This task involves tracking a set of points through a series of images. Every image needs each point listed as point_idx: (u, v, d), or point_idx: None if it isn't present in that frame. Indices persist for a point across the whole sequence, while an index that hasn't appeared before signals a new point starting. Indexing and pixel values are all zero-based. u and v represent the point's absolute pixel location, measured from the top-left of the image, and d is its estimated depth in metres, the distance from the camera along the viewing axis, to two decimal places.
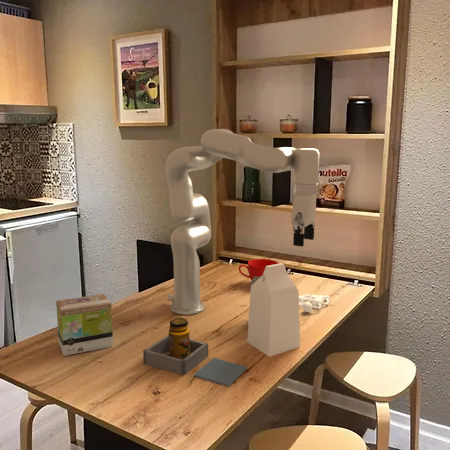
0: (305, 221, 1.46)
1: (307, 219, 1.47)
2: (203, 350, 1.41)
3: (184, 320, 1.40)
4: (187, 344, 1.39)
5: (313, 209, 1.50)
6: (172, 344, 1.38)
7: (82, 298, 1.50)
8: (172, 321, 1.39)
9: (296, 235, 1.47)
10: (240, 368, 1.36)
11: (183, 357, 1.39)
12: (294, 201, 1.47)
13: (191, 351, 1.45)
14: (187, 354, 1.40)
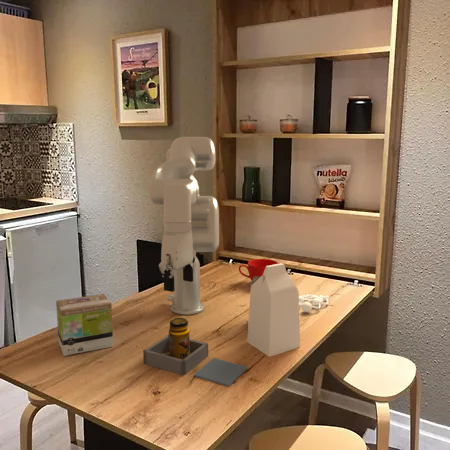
0: (174, 264, 1.31)
1: (177, 261, 1.31)
2: (203, 350, 1.41)
3: (184, 320, 1.40)
4: (187, 344, 1.39)
5: (187, 249, 1.35)
6: (172, 344, 1.38)
7: (82, 298, 1.50)
8: (172, 321, 1.39)
9: (165, 279, 1.32)
10: (240, 368, 1.36)
11: (183, 357, 1.39)
12: (163, 241, 1.31)
13: (191, 351, 1.45)
14: (187, 354, 1.40)
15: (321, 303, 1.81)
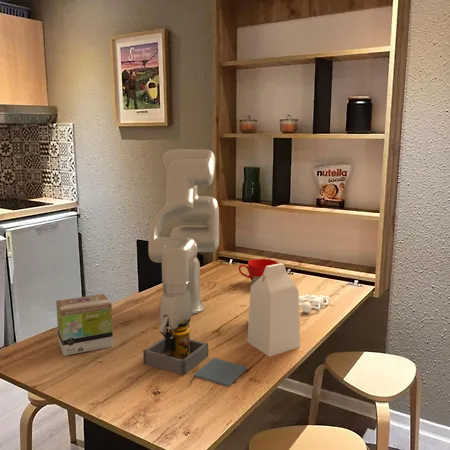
0: (172, 324, 1.34)
1: (175, 322, 1.35)
2: (203, 350, 1.41)
3: None
4: (187, 344, 1.39)
5: (185, 308, 1.38)
6: None
7: (82, 298, 1.50)
8: None
9: (167, 340, 1.37)
10: (240, 368, 1.36)
11: (183, 357, 1.39)
12: (161, 302, 1.35)
13: (191, 351, 1.45)
14: (187, 354, 1.40)
15: (321, 303, 1.81)
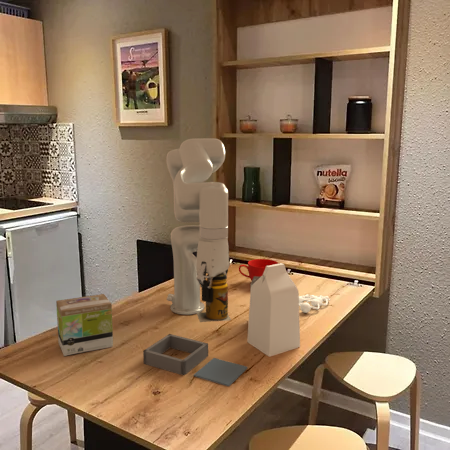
0: (211, 272, 1.24)
1: (213, 269, 1.25)
2: (203, 350, 1.41)
3: (222, 274, 1.30)
4: (226, 299, 1.29)
5: (223, 256, 1.28)
6: None
7: (82, 298, 1.50)
8: None
9: (204, 289, 1.27)
10: (240, 368, 1.36)
11: (221, 314, 1.28)
12: (198, 248, 1.25)
13: (191, 351, 1.45)
14: (225, 311, 1.29)
15: (320, 304, 1.81)
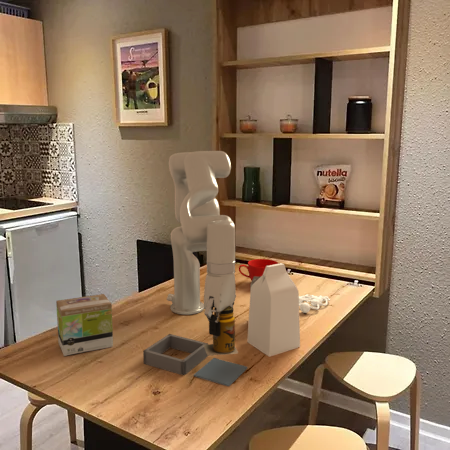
0: (218, 307, 1.25)
1: (221, 304, 1.26)
2: (203, 350, 1.41)
3: (229, 307, 1.31)
4: (233, 333, 1.30)
5: (230, 290, 1.29)
6: None
7: (82, 298, 1.50)
8: None
9: (211, 323, 1.28)
10: (240, 368, 1.36)
11: (228, 347, 1.29)
12: (206, 283, 1.26)
13: (191, 351, 1.45)
14: (232, 344, 1.30)
15: (320, 304, 1.81)
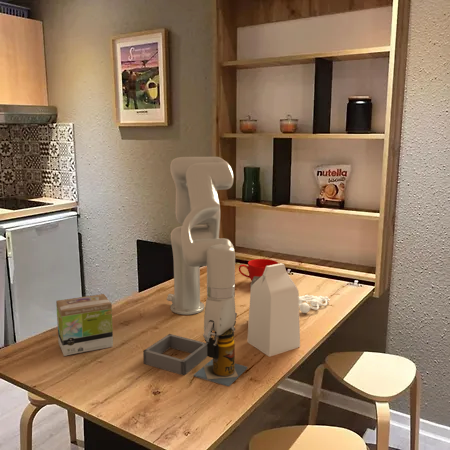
0: (218, 330, 1.27)
1: (221, 328, 1.27)
2: (203, 350, 1.41)
3: (229, 331, 1.32)
4: (233, 356, 1.31)
5: (230, 313, 1.31)
6: None
7: (82, 298, 1.50)
8: None
9: (209, 346, 1.28)
10: (240, 368, 1.36)
11: (228, 370, 1.31)
12: (206, 307, 1.27)
13: (191, 351, 1.45)
14: (232, 367, 1.32)
15: (319, 304, 1.80)
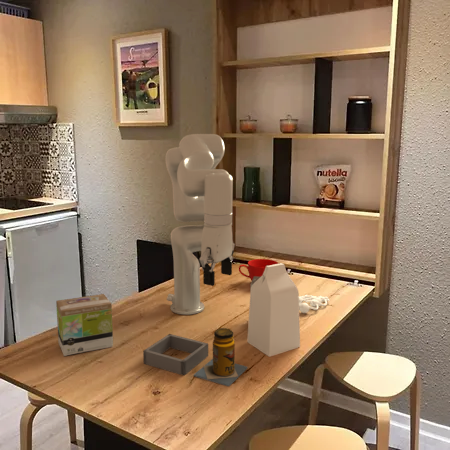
0: (215, 257, 1.27)
1: (218, 255, 1.28)
2: (203, 350, 1.41)
3: (229, 331, 1.32)
4: (233, 356, 1.31)
5: (227, 242, 1.31)
6: (216, 356, 1.30)
7: (82, 298, 1.50)
8: (217, 332, 1.31)
9: (205, 273, 1.28)
10: (240, 368, 1.36)
11: (228, 370, 1.31)
12: (203, 234, 1.28)
13: (191, 351, 1.45)
14: (232, 367, 1.32)
15: (319, 304, 1.80)
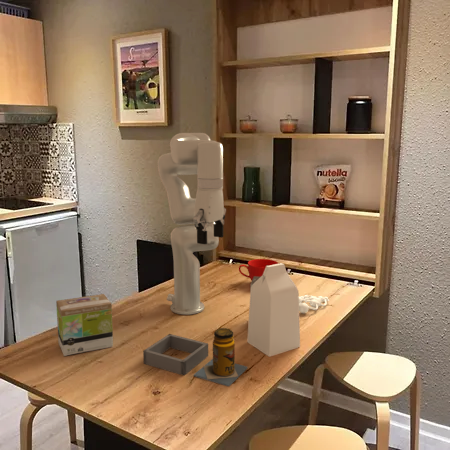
0: (207, 218, 1.40)
1: (210, 216, 1.40)
2: (203, 350, 1.41)
3: (229, 331, 1.32)
4: (233, 356, 1.31)
5: (219, 205, 1.44)
6: (216, 356, 1.30)
7: (82, 298, 1.50)
8: (217, 332, 1.31)
9: (199, 232, 1.41)
10: (240, 368, 1.36)
11: (228, 370, 1.31)
12: (196, 197, 1.40)
13: (191, 351, 1.45)
14: (232, 367, 1.32)
15: (319, 304, 1.80)
